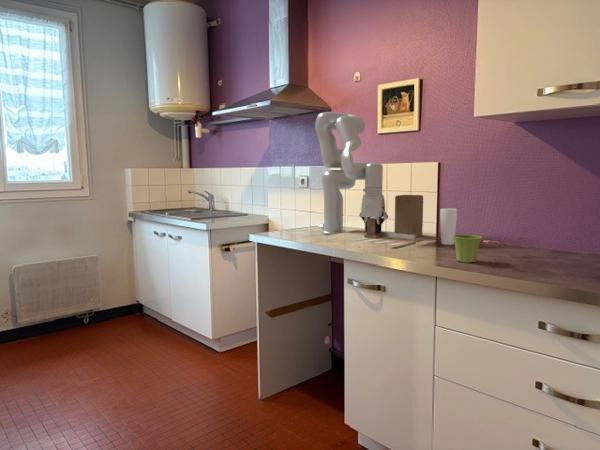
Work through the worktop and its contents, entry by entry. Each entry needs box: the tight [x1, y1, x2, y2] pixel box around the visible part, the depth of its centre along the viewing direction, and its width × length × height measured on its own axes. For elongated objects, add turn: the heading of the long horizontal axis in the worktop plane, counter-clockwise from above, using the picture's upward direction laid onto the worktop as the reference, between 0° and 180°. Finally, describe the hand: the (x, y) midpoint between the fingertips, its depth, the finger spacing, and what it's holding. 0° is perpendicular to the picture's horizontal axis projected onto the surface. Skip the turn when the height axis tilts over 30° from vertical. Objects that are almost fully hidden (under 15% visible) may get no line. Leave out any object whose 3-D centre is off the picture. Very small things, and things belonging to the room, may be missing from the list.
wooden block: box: [393, 194, 424, 238], centre depth 200 cm, size 10×10×20 cm
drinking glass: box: [439, 207, 458, 246], centre depth 185 cm, size 7×7×15 cm
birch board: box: [349, 230, 417, 250], centre depth 188 cm, size 23×16×4 cm
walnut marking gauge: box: [363, 217, 382, 239], centre depth 195 cm, size 6×5×8 cm
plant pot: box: [452, 234, 483, 264], centre depth 150 cm, size 9×9×9 cm
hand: (373, 232), depth 195 cm, fingers open, 4 cm apart
